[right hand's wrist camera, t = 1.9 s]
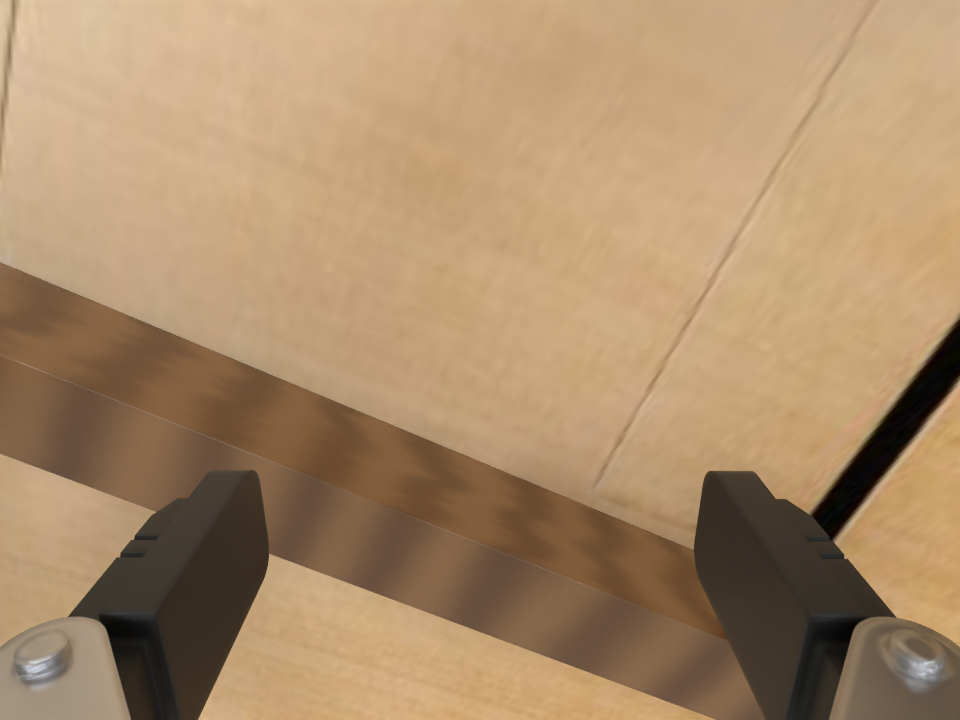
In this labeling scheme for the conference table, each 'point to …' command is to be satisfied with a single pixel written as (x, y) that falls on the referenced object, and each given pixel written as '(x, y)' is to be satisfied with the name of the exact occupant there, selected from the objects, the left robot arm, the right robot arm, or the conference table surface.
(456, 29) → the conference table surface
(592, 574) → the post
